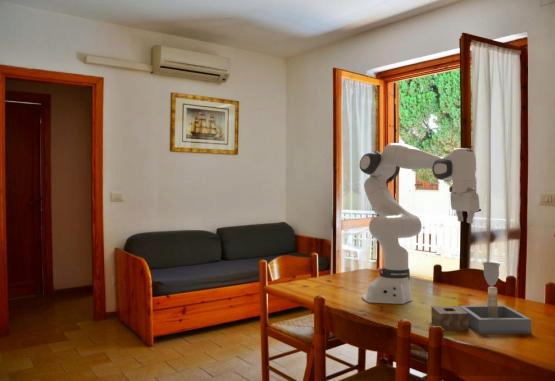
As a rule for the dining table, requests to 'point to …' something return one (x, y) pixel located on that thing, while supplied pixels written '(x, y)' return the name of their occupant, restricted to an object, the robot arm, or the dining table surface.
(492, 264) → the chalice
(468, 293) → the dining table surface
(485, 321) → the tray
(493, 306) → the dowel
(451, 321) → the dowel block
